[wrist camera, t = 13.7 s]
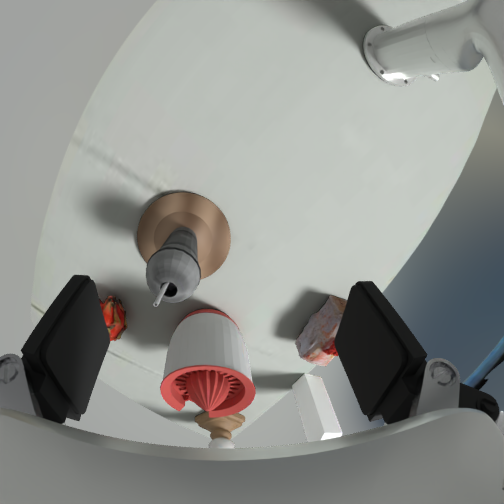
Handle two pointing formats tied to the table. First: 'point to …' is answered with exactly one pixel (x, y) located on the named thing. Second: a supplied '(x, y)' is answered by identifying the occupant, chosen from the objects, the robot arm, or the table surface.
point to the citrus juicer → (208, 365)
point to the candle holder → (220, 428)
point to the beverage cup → (174, 267)
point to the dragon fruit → (114, 317)
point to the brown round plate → (191, 216)
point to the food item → (321, 333)
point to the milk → (315, 409)
